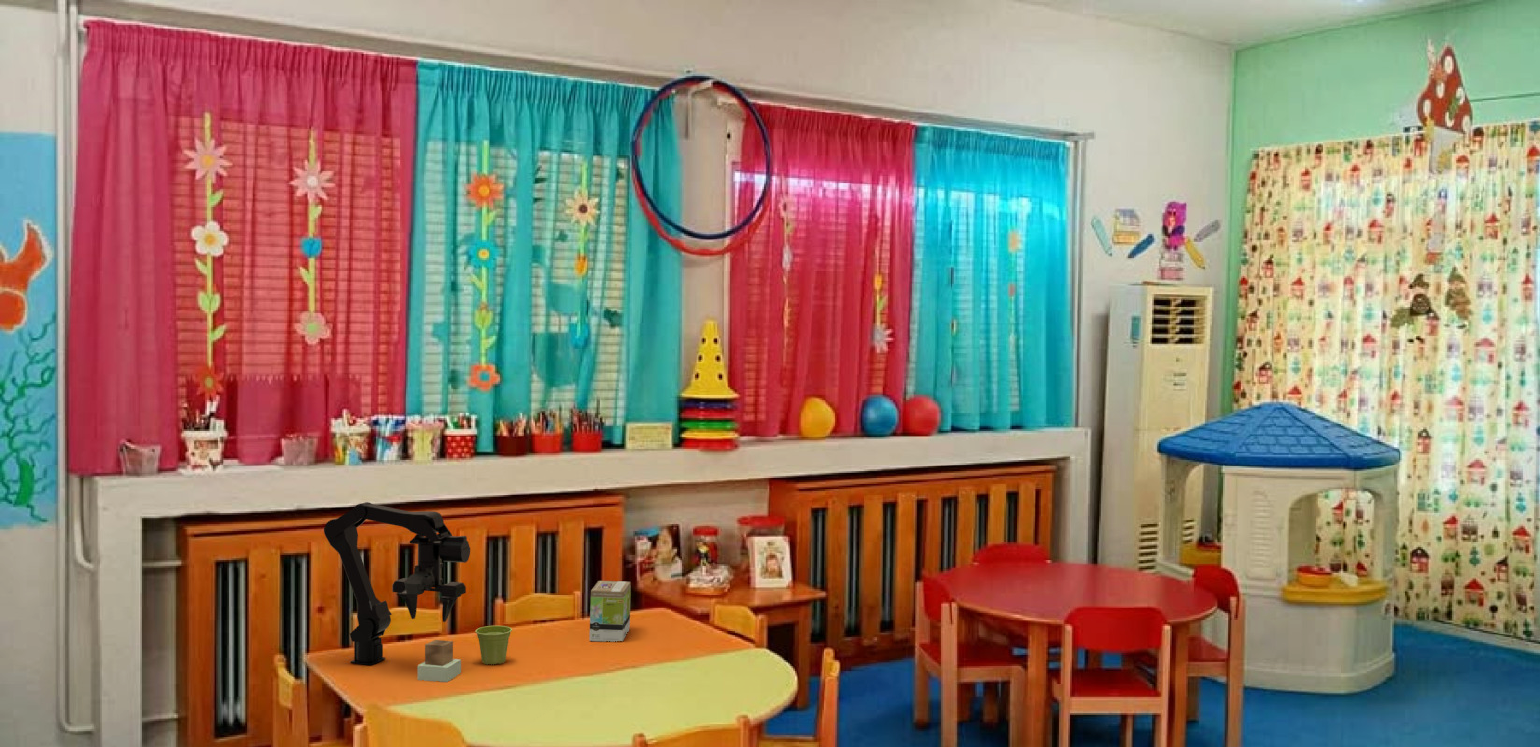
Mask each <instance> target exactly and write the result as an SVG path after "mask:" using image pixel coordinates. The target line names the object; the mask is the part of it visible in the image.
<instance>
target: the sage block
mask: <svg viewBox="0 0 1540 747" xmlns="http://www.w3.org/2000/svg"><path fill="white" fill-rule="evenodd" d="M460 673H461V674H462V659H459V658H453V661H451V662H449V663H447V664H445V665H443V666H441V665H430V664H425V661H423V662H421V663H420V664H418V665H417V680H418V681H422V680H424V681H425V682H436V681H439V683H449V682H450V681H451V679H452V680H453V679H455V678H456V676H457V675H458V674H460ZM461 674H460V675H461ZM458 676H459V675H458ZM458 676H457V677H458ZM454 677H455V678H454ZM448 681H449V682H448Z"/></svg>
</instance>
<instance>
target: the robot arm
mask: <svg viewBox="0 0 1540 747" xmlns="http://www.w3.org/2000/svg"><path fill="white" fill-rule="evenodd" d="M367 520H368V521H373V522H377V523H381V524H382V523H383V524H386V525H387V524H388V525H392V526H396V527H401V528H405V529H407V530H408V531H409V532H410V533H413V534H415V536H414V537H413V538H412V539H411V540H409V544H412V545H413V544H414V545H415V544H416V545H417V565H414V569H413V571H414V572H413V573H412V574H410V575H409V577H403V578H400V579H397V580H395V581H393V583H392V585H391V586H392V588H391V591H392V593H396V595H397V596H399V597H400V598H402V600H404V603H405V604H406V606H407V611H408V612H409V615H410V618H411V619H412V620H415V619H416V617H417V609H418V608H417V607H418V606H417V605H418V597H419V595H423V594H424V593H425V591H426V592H436V593H437V592H439V593H440V594H441V595H442V596H441V597H440V600H441V602H442V609H441V610H442V611H441V612H442V613H441V614H442V622H443V623H445V622H447V619H448V617H449V616H450V614H451V611H452V609H453V606H454V605H455V602H456V601H457V599H458V598H460V597H462V595H465V594H466V592H467V587H466V585H465V583H464V582H459V581H451V582H448V583H445V584H443V583H444V579H443V578H441V568H444V562H447V563H448V562H449V563H464V564H465V563H467V562H468V561H469V558H470V555H471V547H470V544H469V543H470V542H469V541H468V540H467V536H466V535H459V536H455V535H453V534H452V533H451V531H450V530H449V528H448V526H446V524H445V523H444V518H443V516H442V514H441V513H440V512H438V511H426V510H424V511H421V510H420V511H408V510H404V509H399V508H394V507H389V506H384V505H379V504H375V503H371V502H368V501H365V502H363V503H361V502H360V503H358V504H357V505H355V506H354V507H353V508H352V509H350V510H348V511H347V512H345V513H344V514H342V515H341V516H339V517H337V518H334V519H333V518H332V519H330V520H328V521H327V522H326V523H325V525H324V527H323V534H324V536H325V538H326V540H327V541H328V543H329V545H330V546H331V547H332V548H333V549H334V550H335V551H336V552H337V553H338V554H339V557H340V559H341V563H342V565H343V567H344V571H345V574H346V576H347V579H348V582H349V583H350V587H351V590H352V591H353V594H354V597H355V601H356V604H357V613H356V616H357V617H356V618H357V622H358V625H357V626H356V627H355V628H354V629H353V630H352V632H350V633H349V636H350V640H351V642H354V643H353V645H354V646H353V649H354V650H353V651H354V652H353V654H354V655H353V658H354V659H352V660H350V664H356V665H357V664H358V665H364V666H365V665H367V666H373V665H376V664H378V663H380V662H382V661H384V660H386V657H384V654H383V652H384V651H383V649H384V645H383V643H382V637H381V636H383V635H384V634H385V632H386V630H387V629H388V628H389V626H390V624H391V623H392V620H391V616H392V612H391V610H390V609H389V605H388V602H387V601H386V600H383V601H380V600H379V599H378V598H377V596H376V595H375V591H374V589H373V586H372V583H371V581H370V578H369V575H368V572H367V570H366V567H365V564H364V562H363V559H362V556H361V553H360V550H359V549H358V541H359V540H358V539H359V535H358V527H360V526H361V525H363V524H364V523H365V521H367ZM441 560H442V561H443V562H441Z"/></svg>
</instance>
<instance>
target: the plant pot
mask: <svg viewBox="0 0 1540 747" xmlns="http://www.w3.org/2000/svg"><path fill="white" fill-rule="evenodd" d="M512 631H513V629H512V627H510V626H507V625H488V626H481V627H478V628H477V629H475V634H476V636H477V639H478V644H479V651H480V657H481V658H480V659H481V663H483V665H488V664H491V665H490V666H494V664H495V665H496V664H500V665H501V663H502V664H503V663H505V662H506V658H507V652H508V646H509V639H510V636H511V632H512ZM492 664H493V665H492Z"/></svg>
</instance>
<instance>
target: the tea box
mask: <svg viewBox="0 0 1540 747" xmlns="http://www.w3.org/2000/svg"><path fill="white" fill-rule="evenodd" d="M631 584H632V583H631V581H621V580H619V581H618V580H617V581H616V580H614V581H613V580H597V582H596V583H595V584H594V586H593V587H592V589H590V609H589V610H590V612H589V635H588V636H589V639H588V640H589V641H590V642H606V641H608V642H609V641H610V643H611V642H612V643H614V642H615V641H616V642H615V643H618V642H617V641H622V642H623V641H624V640H625V638H626V636H627V635H628V633H629V630H630V625H631V620H630V619H631V589H632V588H631ZM627 632H628V633H627ZM626 634H627V635H626Z"/></svg>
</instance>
